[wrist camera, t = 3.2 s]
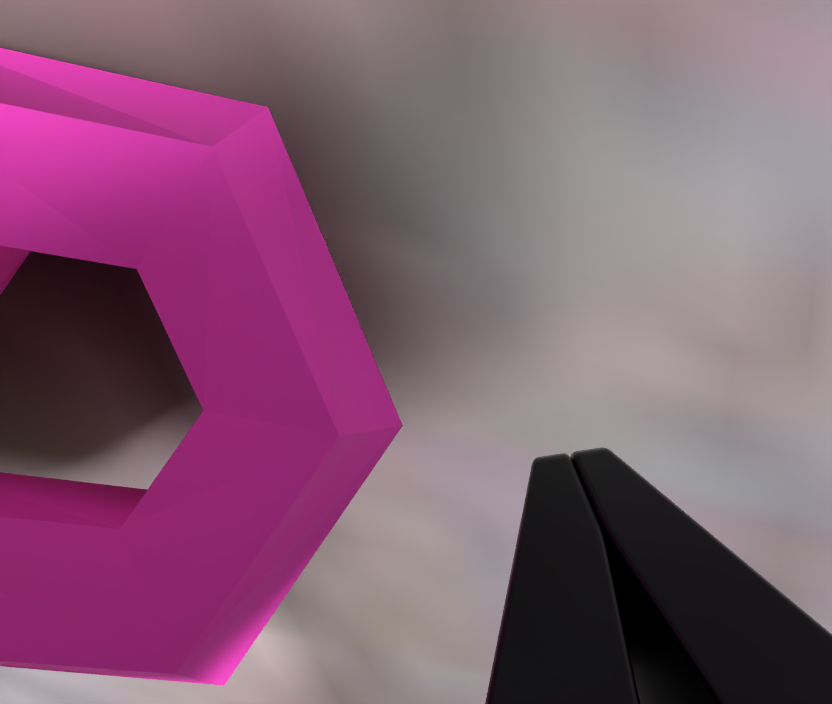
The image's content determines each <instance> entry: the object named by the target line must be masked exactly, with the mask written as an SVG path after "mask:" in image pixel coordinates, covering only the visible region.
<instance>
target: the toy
mask: <svg viewBox="0 0 832 704" xmlns="http://www.w3.org/2000/svg"><path fill="white" fill-rule="evenodd" d="M31 251H33V252H39V253H45V254H51V255H57V256H62V257H68V258H74V259H80V260H86V261H92V262H98V263H104V264H110V265H116V266H122V267H128V268H134V269H137V270H138V272H139V274H140V277H141V279H142V281H143V283H144V285H145V287H146V289H147V291H148V294H149V296H150V298H151V300H152V302H153V304H154V306H155V308H156V311H157V313H158V315H159V317H160V319H161V321H162V323H163V325H164V328H165V330H166V332H167V334H168V336H169V338H170V340H171V343H172V345H173V347H174V349H175V351H176V353H177V355H178V357H179V360H180V362H181V364H182V366H183V368H184V370H185V372H186V374H187V377H188V379H189V381H190V383H191V385H192V387H193V389H194V391H195V394H196V396H197V398H198V400H199V402H200V404H201V406H202V409H203V412H202V413H201V415H200V416H199V417H198V419H197V420H196V422H195V423H194V424H193V426H192V427H191V429H190V430H189V432H188V433H187V434H186V436H185V437H184V439H183V440H182V442H181V443H180V444H179V446H178V447H177V449H176V450H175V452H174V453H173V454H172V456H171V457H170V459H169V460H168V462H167V463H166V464H165V466H164V467H163V469H162V470H161V472H160V473H159V474H158V476H157V477H156V479H155V480H154V482H153V483H152V484H151V486H150V487H149V489H148V490H146V489H137V488H129V487H120V486H112V485H103V484H95V483H86V482H77V481H69V480H60V479H52V478H43V477H35V476H26V475H18V474H9V473H1V472H0V666H6V667H17V668H29V669H41V670H52V671H64V672H76V673H87V674H99V675H110V676H122V677H134V678H145V679H157V680H169V681H180V682H192V683H204V684H215V685H225V683H226V682H227V680H228V679H229V677H230V676H231V674H232V673H233V672H234V670H235V669H236V667H237V666H238V664H239V663H240V661H241V660H242V658H243V657H244V656H245V654H246V653H247V651H248V650H249V648H250V647H251V645H252V644H253V642H254V641H255V640H256V638H257V637H258V635H259V634H260V632H261V631H262V629H263V628H264V626H265V625H266V624H267V622H268V621H269V619H270V618H271V616H272V615H273V613H274V612H275V610H276V609H277V608H278V606H279V605H280V603H281V602H282V600H283V599H284V597H285V596H286V594H287V593H288V592H289V590H290V589H291V587H292V586H293V584H294V583H295V581H296V580H297V578H298V577H299V576H300V574H301V573H302V571H303V570H304V568H305V567H306V565H307V564H308V562H309V561H310V560H311V558H312V557H313V555H314V554H315V552H316V551H317V549H318V548H319V546H320V545H321V544H322V542H323V541H324V539H325V538H326V536H327V535H328V533H329V532H330V530H331V529H332V528H333V526H334V525H335V523H336V522H337V520H338V519H339V517H340V516H341V514H342V513H343V511H344V510H345V509H346V507H347V506H348V504H349V503H350V501H351V500H352V498H353V497H354V495H355V494H356V493H357V491H358V490H359V488H360V487H361V485H362V484H363V482H364V481H365V479H366V478H367V477H368V475H369V474H370V472H371V471H372V469H373V468H374V466H375V465H376V463H377V462H378V461H379V459H380V458H381V456H382V455H383V453H384V452H385V450H386V449H387V447H388V446H389V445H390V443H391V442H392V440H393V439H394V437H395V436H396V434H397V433H398V431H399V430H400V429H401V427H402V426H403V425H402V423H401V421H400V418H399V416H398V414H397V411H396V409H395V406H394V404H393V402H392V399H391V397H390V395H389V392H388V390H387V387H386V385H385V383H384V380H383V378H382V376H381V373H380V371H379V369H378V366H377V364H376V361H375V359H374V357H373V354H372V352H371V350H370V347H369V345H368V343H367V340H366V338H365V335H364V333H363V331H362V328H361V326H360V324H359V321H358V319H357V316H356V314H355V312H354V309H353V307H352V305H351V302H350V300H349V298H348V295H347V293H346V290H345V288H344V286H343V283H342V281H341V279H340V276H339V274H338V271H337V269H336V267H335V264H334V262H333V260H332V257H331V255H330V253H329V250H328V248H327V245H326V243H325V241H324V238H323V236H322V234H321V231H320V229H319V227H318V224H317V222H316V219H315V217H314V215H313V212H312V210H311V208H310V205H309V203H308V200H307V198H306V196H305V193H304V191H303V189H302V186H301V184H300V182H299V179H298V177H297V174H296V172H295V170H294V167H293V165H292V163H291V160H290V158H289V155H288V153H287V151H286V148H285V146H284V144H283V141H282V139H281V137H280V134H279V132H278V129H277V127H276V125H275V122H274V120H273V118H272V115H271V113H270V111H269V108H268V107H265V106H260V105H256V104H251V103H247V102H242V101H238V100H233V99H229V98H224V97H220V96H215V95H211V94H206V93H202V92H197V91H193V90H188V89H184V88H179V87H175V86H170V85H165V84H161V83H156V82H152V81H147V80H143V79H138V78H134V77H129V76H125V75H120V74H116V73H111V72H107V71H102V70H98V69H93V68H89V67H84V66H80V65H75V64H71V63H66V62H62V61H57V60H53V59H48V58H44V57H39V56H35V55H30V54H25V53H21V52H16V51H12V50H7V49H3V48H0V294H1V293H2V291H3V290H4V289H5V287H6V286H7V284H8V283H9V282H10V280H11V279H12V277H13V276H14V274H15V273H16V272H17V270H18V269H19V267H20V266H21V264H22V263H23V262H24V260H25V259H26V257H27V256H28V255H29V253H30V252H31Z"/></svg>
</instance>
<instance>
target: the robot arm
mask: <svg viewBox="0 0 832 704" xmlns="http://www.w3.org/2000/svg"><path fill="white" fill-rule="evenodd" d="M485 704H832V634H831V633H829V632H828V631H827V630H826V629H825V628H823V627H822V626H821V625H820V624H819V623H817V622H816V621H815V620H814V619H813V618H811V617H810V616H809V615H808V614H807V613H805V612H804V611H803V610H802V609H801V608H799V607H798V606H797V605H796V604H795V603H793V602H792V601H791V600H790V599H789V598H787V597H786V596H785V595H784V594H782V593H781V592H780V591H779V590H778V589H776V588H775V587H774V586H773V585H772V584H770V583H769V582H768V581H767V580H766V579H764V578H763V577H762V576H761V575H760V574H758V573H757V572H756V571H755V570H754V569H752V568H751V567H750V566H749V565H748V564H746V563H745V562H744V561H743V560H742V559H740V558H739V557H738V556H737V555H736V554H734V553H733V552H732V551H731V550H730V549H728V548H727V547H726V546H725V545H724V544H722V543H721V542H720V541H719V540H718V539H716V538H715V537H714V536H713V535H711V534H710V533H709V532H708V531H707V530H705V529H704V528H703V527H702V526H701V525H699V524H698V523H697V522H696V521H695V520H693V519H692V518H691V517H690V516H689V515H687V514H686V513H685V512H684V511H683V510H681V509H680V508H679V507H678V506H677V505H675V504H674V503H673V502H672V501H671V500H669V499H668V498H667V497H666V496H665V495H663V494H662V493H661V492H660V491H659V490H657V489H656V488H655V487H654V486H653V485H651V484H650V483H649V482H648V481H647V480H645V479H644V478H643V477H642V476H640V475H639V474H638V473H637V472H636V471H634V470H633V469H632V468H631V467H630V466H628V465H627V464H626V463H625V462H624V461H622V460H621V459H620V458H619V457H618V456H616V455H615V454H614V453H613V452H612V451H610V450H609V449H606V448H596V449H589V450H582V451H576V452H574V453H573V454H572V455H571V457H569V456H568V455H567V454H556V455H550V456H543V457H538V458H536V459H534V461H533V463H532V467H531V472H530V477H529V482H528V488H527V493H526V498H525V503H524V508H523V513H522V518H521V523H520V529H519V534H518V539H517V544H516V549H515V554H514V559H513V564H512V570H511V575H510V580H509V585H508V590H507V595H506V600H505V605H504V611H503V616H502V621H501V626H500V631H499V636H498V641H497V646H496V652H495V657H494V662H493V667H492V672H491V677H490V682H489V687H488V693H487V698H486V703H485Z"/></svg>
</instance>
